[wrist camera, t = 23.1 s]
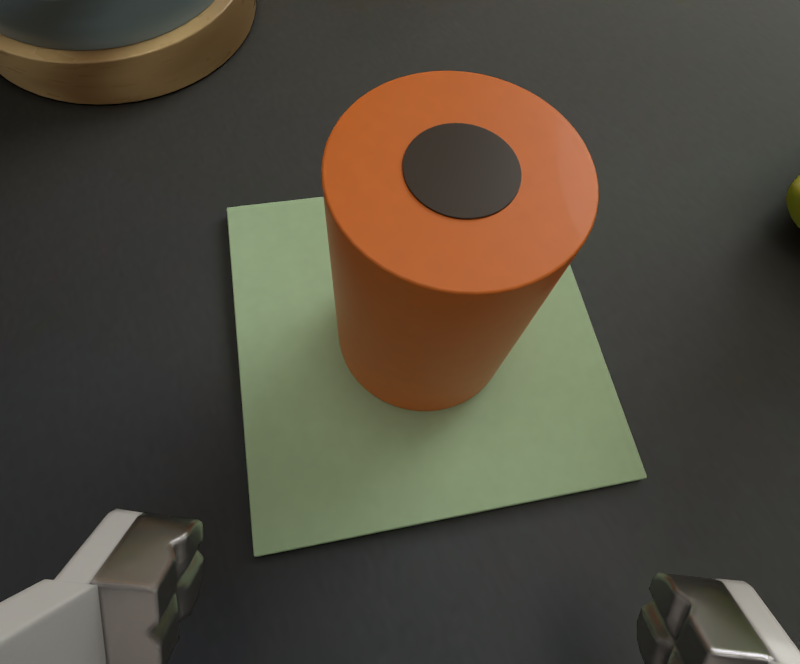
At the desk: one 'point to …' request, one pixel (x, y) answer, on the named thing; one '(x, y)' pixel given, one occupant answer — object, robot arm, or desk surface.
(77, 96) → the stacking tower
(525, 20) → the desk surface
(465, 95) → the orange cylinder piece
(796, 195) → the flower pot
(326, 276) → the green mat
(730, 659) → the robot arm
